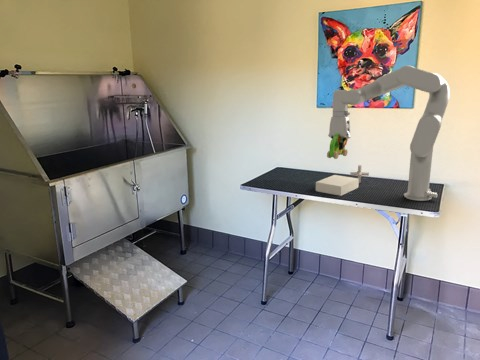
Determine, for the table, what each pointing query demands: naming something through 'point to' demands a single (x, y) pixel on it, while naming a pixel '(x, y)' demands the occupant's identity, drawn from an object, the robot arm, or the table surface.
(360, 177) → the pipe connector
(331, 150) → the toy lion
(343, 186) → the cream step
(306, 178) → the table surface
